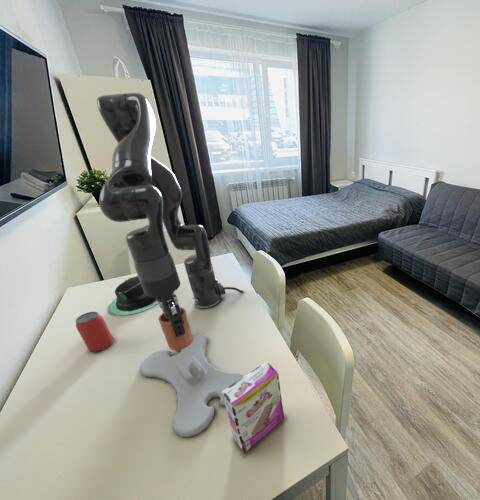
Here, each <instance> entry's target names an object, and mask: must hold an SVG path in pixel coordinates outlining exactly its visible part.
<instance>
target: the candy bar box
mask: <svg viewBox="0 0 480 500" xmlns="http://www.w3.org/2000/svg"><path fill="white" fill-rule="evenodd" d="M222 396H223V399H224V403H225V406H224V407H225V410H226V414H227V417H228V421H229V425H230V429H231V432H232V435H233V439H234V441H235V442H236V443H237V445H238V447H239V448H240V450H241V451H242V452H243V454H246V453H247V452H248V451H249V450H251V449H252V448H253V447H254V446H255V445H256V444H257V443H259V442H260V441H261V440H262V439H263V438H264V437H265V436H267V434H269V433H270V432H271V431H272V430H273V429H274V428H275V427H276V426H278V424H280V423H281V422H282V421H283V420H284V419H285V414H284V408H283V407H284V406H283V399H282V392H281V385H280V375H279V372H278V371H277V370H276V369H275V368H274V367H273V366H272V365H271V364H270V362H268V361H264V362H263V363H261V364H260V365H259V366H257V367H256V368H254V369H253V370H251V371H249V372H248V373H247V374H245V375H244V377H242V378H241V379H240V380H238V381H237V382H235V383H234V384H232V385H231V386H229V387H228V388H226V389H225V390H223V391H222Z"/></svg>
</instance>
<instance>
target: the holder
mask: <svg viewBox="0 0 480 500" xmlns="http://www.w3.org/2000/svg"><path fill="white" fill-rule="evenodd" d="M193 335H194V340H193V342H192V343H191V344H190V345H189V346H188V347H186V348H184V349H181V350H176V351H177V352H178V351H180V352H179V353H178V354H176V355H173V356H171V355H172V351H171V350H168V349H166V350H164V349H163V350H159V351H156V352H153V353H151V354H150V355H148V356H147V357H146V358H145V359H143V361H142V362H141V363H140V366H139V372H140V374H141V375H142V376H143V377H145V378H156V379H161V380H164V381H166V382H168V383H169V384H170V385H171V386H172V387H173V388H174V389H175V391H176V394H177V395H176V396H177V407H176V411H175V415H174V418H173V420H172V427H173V430H174V432H175V433H176V434H177V436H179V437H182V438H188V437H192V436H196V435H197V434H199V433H201V432H202V431H204V430H205V429H206V428H207V427H208V426H209V425H210V423H211V422H212V420H213V418H214V415H215V407H214V406H208V403H209V401H211V400H213V399H214V398H220V400H219V402H218V403H219V406H224V407H225V403H224V399H223V396H222V391H223V390H225V389H226V388H228V387H229V386H231V385H232V384H234V383H235V382H237V381H238V380H240V379H241V378H242V377H244V376H245V375H244V374H243V373H239V372H227V371H223V370H220V369H217V368H216V367H215V366H213V365H212V364H211V363H210V362H209V361H208V360H207V358H206V357H207V356H206V346H207V342H208V340H207V336H206V335H204V334H203V333H201V332H195V333H194V332H193Z"/></svg>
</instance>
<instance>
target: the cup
mask: <svg viewBox="0 0 480 500" xmlns="http://www.w3.org/2000/svg"><path fill="white" fill-rule="evenodd" d="M180 309H181V314H182V318H183V320H184V324H183V326H184V329H185V334H184V335H182V336H180V337H176V336H175V333H174V330H173V328H172V326H171V325H170V324H171V323H170V321H169V318H166V317H165V315H164V313H163V312H162V313H161V314H160V315H159V316H158V322H159V325H160V327H161V330H162V333H163V335H164V338H165V341H166V343H167V345H168V347H169V349H170V351H171V350H172V351H177V350H178V351H180V350H181V349H184V348H186V347H188V346H189V345H190V344H191V343H192V342H193V340H194V335H193V333H194V332H193V329H192V326H191V323H190V319H189V317H188V314H187V311H186V309H185V308H183V307H180ZM167 314H168V313H167Z"/></svg>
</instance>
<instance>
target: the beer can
mask: <svg viewBox="0 0 480 500" xmlns="http://www.w3.org/2000/svg"><path fill="white" fill-rule="evenodd" d="M75 328H76V330H77V332H78V334H79V335H80V338H81V339H82V340H83V342H84V344H85V346H86V348H87V350H88V351H89V352H90V353H91V352H92V353H98V352H101V351H104V350H106V349H107V348H109V347H110V346H111V345H112V343H113V342H114V338H113V335H112V334H111V332H110V329H109V327H108V325H107V324H106V321H105V320H104V318H103V316H102V315H101V314H100V313H99V312H98V311H89V312H86V313H83V314H81V315H79V316H78V317H77V318H76V319H75Z"/></svg>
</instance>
